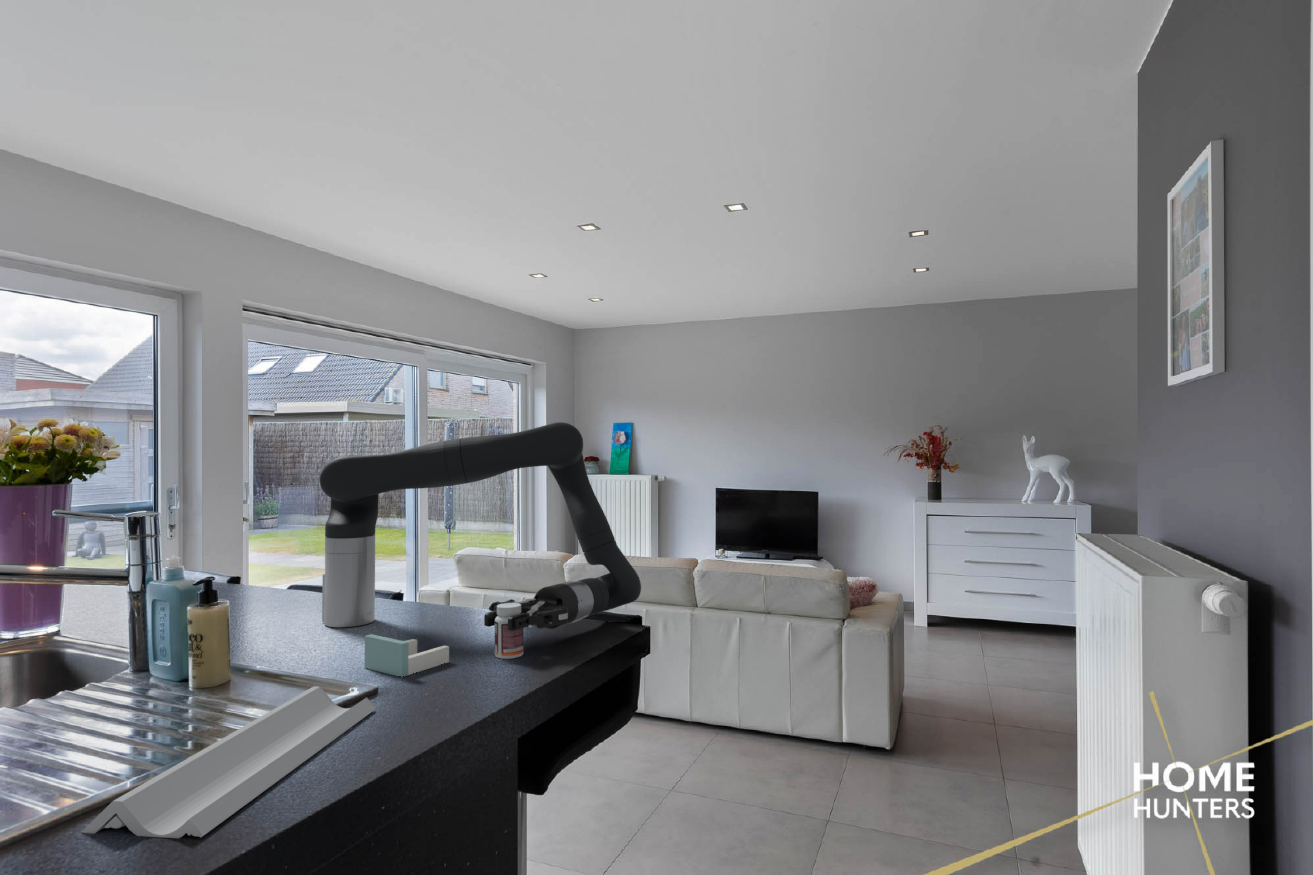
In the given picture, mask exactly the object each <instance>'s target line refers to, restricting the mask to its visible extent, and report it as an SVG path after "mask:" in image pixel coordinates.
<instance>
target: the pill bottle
mask: <svg viewBox="0 0 1313 875" xmlns="http://www.w3.org/2000/svg"><path fill="white" fill-rule="evenodd" d="M498 604H499V605H498ZM498 604H496V605H497V615H498V616H497V617H496V618H495V625H494V656H495V657H496V658H498V659H502V660H509V659H510V660H511V659H516V658H520V657H521V656H523V655H524V647H525V646H524V628H521V629H518V630H515V631H510V630H508V618H509V617H511V616H515V615H519V614H520V613H521V604H519V603H504V604H500V603H498Z"/></svg>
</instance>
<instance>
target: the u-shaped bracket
mask: <svg viewBox="0 0 1313 875" xmlns="http://www.w3.org/2000/svg"><path fill="white" fill-rule="evenodd" d="M444 663H445V664H447V663H450V646H448V645H442V646H438V647H435V648H430V649H428V650H424V651H420V652H418V639H415V638H411V639H407V640H400V639H396V638H395V639H394V638H391V637H386V636H381V635H377V634H376V635H375V634H366V635H364V669H367V668H368V670H372V671H376V672H381V673H384V674H388V675H391V676H395V677H399V676H401V677H400V678H404V677H406V676H410V675H414V674H416V672H417V673H419V672H424V671H425V670H429V669H432V668H435V667H438V666H441V664H442V665H444ZM413 673H414V674H413ZM403 676H404V677H403Z"/></svg>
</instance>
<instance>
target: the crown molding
mask: <svg viewBox="0 0 1313 875" xmlns="http://www.w3.org/2000/svg"><path fill="white" fill-rule="evenodd" d="M375 710H377V707H376V706H375V705H374V704H373V703H372V702H371V701H370V700H369V698H368V697H365V698H363V699H362V700H361V701H359V702H357V703H356V704H355V705H353V706H351V707H348V708H344V707H341V706H339V705H337V704H336V703H335V702H334V701H333V700H332V699H331V698H330V696H329V695H328V694H327V693H326V692H325V690H324V689H323V688H322V687H321V686H311V688H309V689H307V690H305V691H303V692H301V693H299V694H298V695H296V696H294V697H292V698H291V699H289V700H288V701H285V702H283V703H282V704H280V705H279V706H277V707H275V708H273V709H272V710H270V711H268V712H266V713H264V714H263V715H261V716H260V717H257V718H256V719H254V720H252V721H250V722H249V723H246V724H245V725H243V726H242V727H240V728H238V729H237V730H234V731H233V732H231V733H229V734H228V735H226V736H224V737H223V738H221V739H219V740H217V741H216V742H214V743H212V744H210V745H208V746H207V747H205V748H202V750H199V751H198V752H196V753H194V754H193V755H191V756H189V757H187V758H185V759H184V760H182V761H181V762H179V763H177V764H175V765H174V766H172V767H170V768H168V769H167V770H165V771H163V772H161V773H160V774H158V775H156V776H154V777H153V778H150V779H149V780H148V781H145V782H143V783H142V784H140V785H139V786H137V787H135V788H133V789H131V790H130V791H128V792H127V793H124V794H123V795H121V796H119V797H118V798H116V799H114V800H112V801H111V802H110V803H109V805H107V806H106V807H105V808H104V809H103V810H102V812H100V813H99V814H98V815H97V816H96V817H95V818H94V819H93V820H92V821H91V822H89V824H88V825H87V826H85V828H84V829H83V830H82V831H81V832H80V833H83V834H96V833H98V832H99V831H101V830H103V829H109V828H112V829H121V828H123V827H127V828H128V830H129V831H130V832H132V834H134V835H135V836H137V837H150V838H151V837H152V838H164V839H165V838H166V839H167V838H170V839H180V838H182V837H183V836H185V835H186V834H187V835H188V836H190V837H191V836H193V837H199V838H202V837H204V836H206V835H207V834H208V833H210V832H211V831H213V830H214V829H215V828H216V827H218V826H219V825H220V824H222V823H223V822H224V821H226V820H227V819H228V818H230V817H232V815H234V814H236V813H237V812H238V811H239V810H240V809H242V808H243V807H244V806H247V805H248V804H249V803H250V802H252V801H253V800H254V799H256V798H257V797H259V796H260V795H261V794H262V793H264V792H265V791H266V790H268V789H270V788H271V787H272V786H273V785H275V784H276V783H277V782H279V781H280V780H281V779H283V778H285V777H286V776H287V775H288V774H289V773H291V772H293V771H294V770H295V769H297V768H298V767H299V766H300V765H302V764H304V763H305V762H306V761H308V760H309V759H310V758H311V757H313V756H314V755H315V754H317V753H318V752H319V751H321V750H323V748H326V746H328V745H329V744H330V743H332V742H333V741H335V740H336V739H337V738H338V737H340V736H341V735H343V734H344V733H346V732H347V731H348V730H349V729H351V728H352V727H353V726H355V725H356V724H358V723H359V722H361V720H363V719H364V718H366V717H368V715H370V714H372V712H373V711H375Z"/></svg>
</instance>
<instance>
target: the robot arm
mask: <svg viewBox="0 0 1313 875" xmlns="http://www.w3.org/2000/svg"><path fill="white" fill-rule="evenodd" d="M583 452H584V438H583V436H582V434H581V431H580V430H579V429H578V428H577V427H575V425H572V424H570V423H568V422H561V421H560V422H552V423H549V424H545V425H542V426H539V427H537V426H536V427H533V428H530V429H525V430H521V431H518V432H517V431H516V432H511V433H504V434H503V433H501V434H491V435H489V434H488V435H480V436H478V435H477V436H470V437H462V438H454V439H449V440H447V439H446V440H441V441H438V442H432V443H427V444H424V445H423V444H422V445H420V446H415V447H411V448H407V449H404V450H400V451H397V452H390V453H384V454H371V455H354V454H353V455H352V454H351V455H350V454H349V455H342V456H338V457H336V458H333V459H332V460H330V461H328V463H327V464H326V465H325V466H324V468H323V469H322V471H321V473H320V475H319V484H320V488H321V490H322V491H323V493H324V494H325V495H326V496H327V497H329V499H330V511H329V515H328V518H327V519H326V520H327V521H326V522H325V524H324V525H325V527H324V530H325V531H324V536H325V537H324V573H323V575H322V584H321V588H322V594H321V595H322V600H321V602H322V604H321V606H322V607H321V608H322V610H321V617H322V618H321V621H322V623H324V626H326V627H332V628H351V627H357V626H358V627H360V626H364V625H367V624H368V625H369V624H371V623H373V622H374V621H375V616H376V614H375V613H376V612H375V609H376V608H375V607H376V606H375V604H376V602H375V601H376V596H375V595H376V526H377V522H378V515H379V497H380V496H379V495H380V494H382V493H383V494H384V493H387V492H394V491H399V490H400V491H401V490H411V489H412V490H415V489H418V490H419V489H432V488H444V487H452V486H453V487H454V486H459V485H460V486H461V485H464V484H471V483H475V482H479V481H483V480H486V479H490V478H493V477H495V476H496V477H497V476H499V475H502V474H503V473H507V472H510V471H513V470H518V469H523V468H524V469H525V468H534V467H536V468H537V467H547V468H548V469H549V471H550V472H551V474H552V476H553V477H554V479H555V481H556V482H557V484H558V487H559V489H560V491H561V494H562V496H563V499H564V501H565V503H566V507H567V510H568V513H569V516H570V520H571V522H572V525H573V526H572V527H573V529H574V531H575V534H576V537H577V540H578V543H579V545H580V548H581V550H582V553H583V556H584V558H585V561H586V562H587V564H589V565H591V566H600V565H601V566H603V567H605V568H606V570H607V571H608V573H606V574H603V575H601V576H598V577H588V578H584V579H579V580H575V581H574V580H573V581H572V580H570V581H565V582H561V583H556V584H552V585H549V586H544V587H541V588H540V589H538V591H537V592H536V593H535V595H534V597H533V598H527V599H525V600H522V601H515V600H514V599H508V600H506V601H504V602H501V603H498V604H496V605H494V608H493V609H494V610H493V611H489V612H485V614H484V616H483V618H484V620H483V621H484V622H483V624H484V626H485V627H488V628H489V627H493V626H495V618H496V617H497V616H498V615H497V605H499V604H504V603H519V604H521V613H520V614H519V615H515V616H511V617H509V618H508V630H510V631H515V630H518V629H521V628H523V629H525V628H528V629H532V628H534V627H536V628H537V629H541V630H542V629H547V630H554V629H558V628H560V627H564V626H568V625H570V624H573V623H576V622H578V621H581V620H583V619H585V618H587V617H591V616H593V615H597V614H599V613H602V612H606V611H610V610H613V609H615V608H619V607H622V606H625V605H628V604H631V603H634V602H635V601H637V600H638V599H639V597H640V595H641V592H642V584H641V579H640V577H639V574H638V573H637V571H636V570H635V568H634V567H633V566H632V564H631V563H630V561H629V560H628V559H627V558H626V556H625V554H624V553H623V551H622V550H621V549H620V547H619V546H618V543H617V542H616V539H615V535H614V534H613V531H612V528H611V526H610V523H609V521H608V519H607V517H606V515H605V512H604V510H603V508H602V506H601V504H600V502H599V500H598V498H597V496H596V494H595V491H594V490H593V487H592V485H591V482H590V479H589V475H588V473H587V470H586V464H585V460H584V455H583Z"/></svg>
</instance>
